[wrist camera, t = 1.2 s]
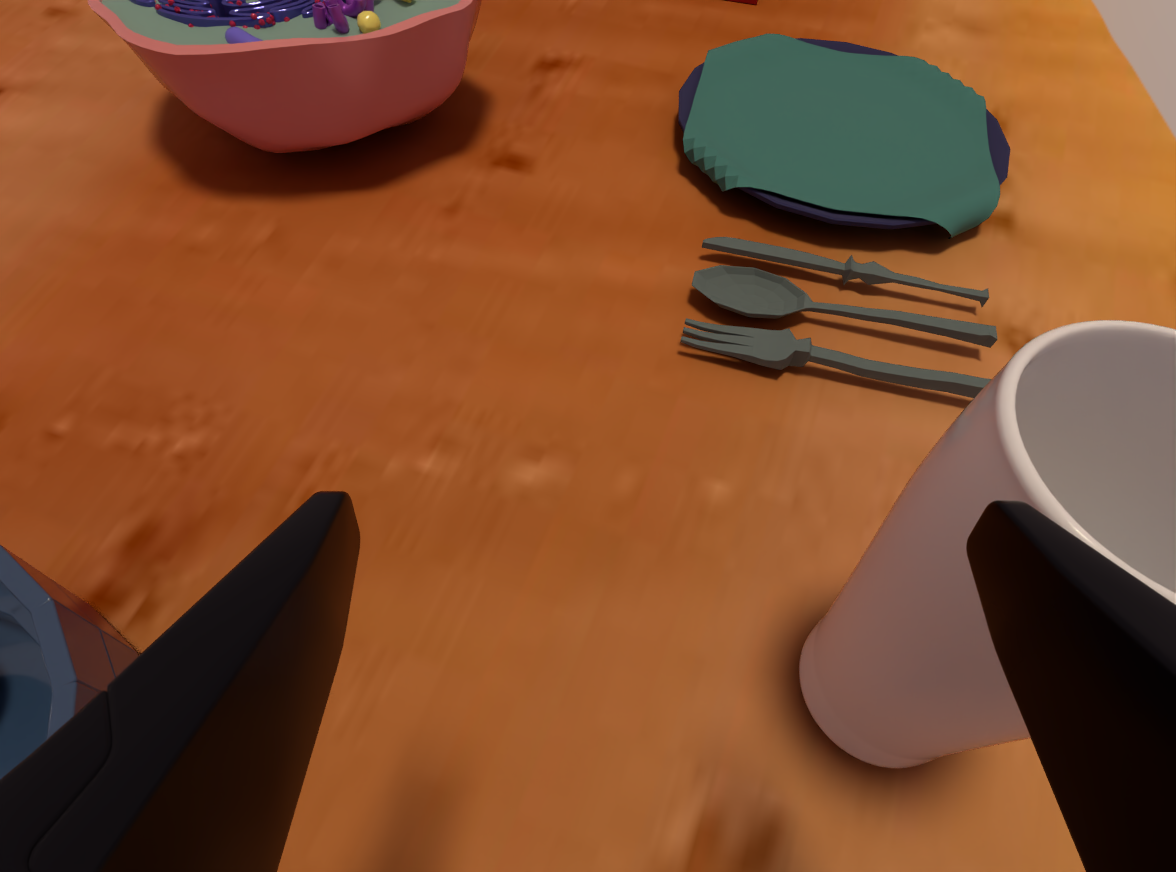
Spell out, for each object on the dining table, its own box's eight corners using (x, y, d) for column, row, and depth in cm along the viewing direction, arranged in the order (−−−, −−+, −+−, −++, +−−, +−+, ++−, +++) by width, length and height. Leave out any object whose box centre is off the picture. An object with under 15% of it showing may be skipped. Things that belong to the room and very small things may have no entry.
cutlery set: (980, 93, 48) (998, 59, 46) (1033, 434, 31) (1064, 403, 29) (698, 46, 50) (704, 12, 48) (603, 342, 33) (606, 307, 31)
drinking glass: (945, 840, 22) (1466, 741, 9) (744, 727, 23) (961, 516, 11) (985, 652, 25) (1402, 400, 13) (808, 566, 27) (1027, 269, 14)
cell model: (496, 204, 39) (478, -20, 29) (122, 209, 37) (-22, -27, 28) (496, 52, 48) (483, -154, 39) (199, 50, 47) (111, -164, 37)
